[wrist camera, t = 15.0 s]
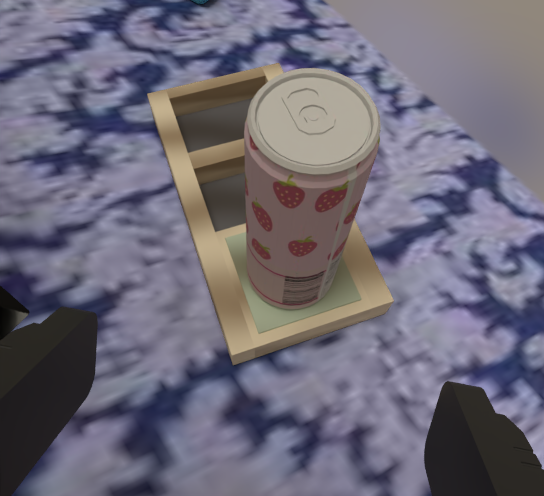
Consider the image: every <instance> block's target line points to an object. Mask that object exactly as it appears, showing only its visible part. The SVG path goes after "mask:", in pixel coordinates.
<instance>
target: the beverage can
mask: <svg viewBox="0 0 544 496" xmlns="http://www.w3.org/2000/svg"><path fill="white" fill-rule="evenodd" d="M379 133H380V116H379V114H378V111H377V108H376V106H375V104H374V102H373V101H372V99H371V98H370V96H369V94H368V93H367V92H366V91H365V90H364V89H363V88H362V87H361V86H360V85H359V84H357V83H356V82H354V81H353V80H352V79H350V78H348V77H346V76H344V75H342V74H339V73H336V72H333V71H329V70H324V69H316V68H305V69H297V70H292V71H288V72H285V73H283V74H280V75H278V76H276V77H274V78H273V79H271V80H269V81H268V82H267V83H266V84H265V85H264V86H263V87H262V88H261V89H259V90H258V91H257V93H256V94H255V96H254V97H253V99H252V101H251V103H250V106H249V109H248V115H247V118H246V121H245V130H244V150H245V200H246V251H247V274H248V279H249V281H250V284H251V286H252V288H253V289H254V291H255V292H256V293H257V294H258V295H259V296H260V297H261V298H262V299H263V300H264V301H266V302H268V303H269V304H271V305H274V306H276V307H279V308H284V309H300V308H304V307H308V306H310V305H312V304H314V303H316V302H318V301H319V300H320V299H321V298H323V297H324V295H325V294H326V293H327V292H328V290H329V289H330V287H331V284H332V282H333V279H334V276H335V274H336V271H337V268H338V265H339V262H340V259H341V256H342V253H343V250H344V247H345V245H346V242H347V239H348V236H349V233H350V230H351V227H352V224H353V221H354V218H355V215H356V213H357V210H358V207H359V204H360V201H361V198H362V195H363V192H364V189H365V186H366V183H367V181H368V178H369V175H370V172H371V169H372V166H373V163H374V160H375V157H376V154H377V151H378V146H379V141H380V138H379Z"/></svg>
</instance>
